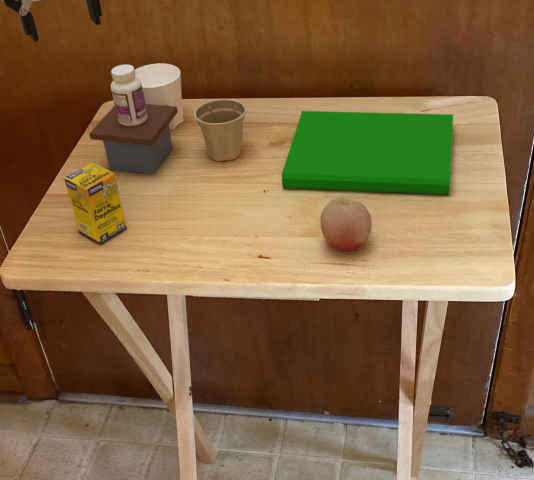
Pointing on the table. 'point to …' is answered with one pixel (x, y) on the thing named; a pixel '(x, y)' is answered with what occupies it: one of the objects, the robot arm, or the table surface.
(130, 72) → the pill bottle
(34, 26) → the robot arm
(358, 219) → the fruit
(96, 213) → the supplement box
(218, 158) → the flower pot
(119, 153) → the stand
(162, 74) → the cup
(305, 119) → the book
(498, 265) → the table surface
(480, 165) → the table surface
